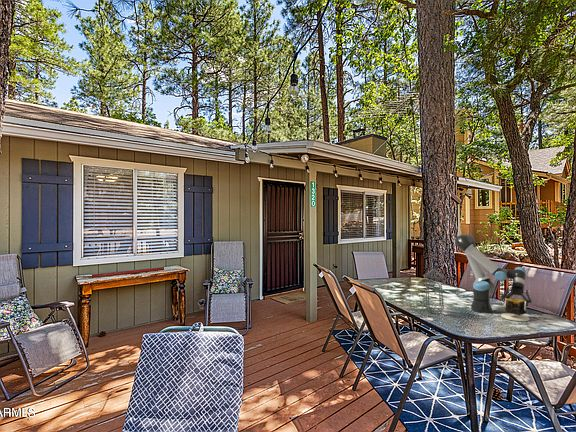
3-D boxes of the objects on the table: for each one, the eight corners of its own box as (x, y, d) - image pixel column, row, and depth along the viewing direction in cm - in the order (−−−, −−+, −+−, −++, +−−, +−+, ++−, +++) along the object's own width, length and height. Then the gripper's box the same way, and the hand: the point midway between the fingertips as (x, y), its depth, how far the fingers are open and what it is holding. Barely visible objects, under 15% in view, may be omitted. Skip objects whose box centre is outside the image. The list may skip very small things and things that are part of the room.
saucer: (495, 316, 253) (495, 315, 253) (508, 313, 262) (508, 312, 262) (521, 323, 237) (521, 321, 237) (534, 319, 246) (534, 318, 246)
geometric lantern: (425, 314, 261) (423, 270, 263) (424, 309, 276) (423, 267, 277) (446, 315, 256) (445, 270, 257) (444, 310, 271) (443, 268, 272)
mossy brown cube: (519, 315, 242) (519, 302, 243) (504, 312, 251) (504, 299, 251) (526, 313, 247) (526, 300, 247) (512, 310, 256) (512, 297, 256)
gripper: (537, 289, 252) (535, 313, 241) (501, 285, 269) (497, 307, 258) (536, 283, 249) (533, 307, 237) (499, 279, 265) (495, 302, 254)
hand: (514, 307), depth 248 cm, fingers closed on mossy brown cube, 12 cm apart
